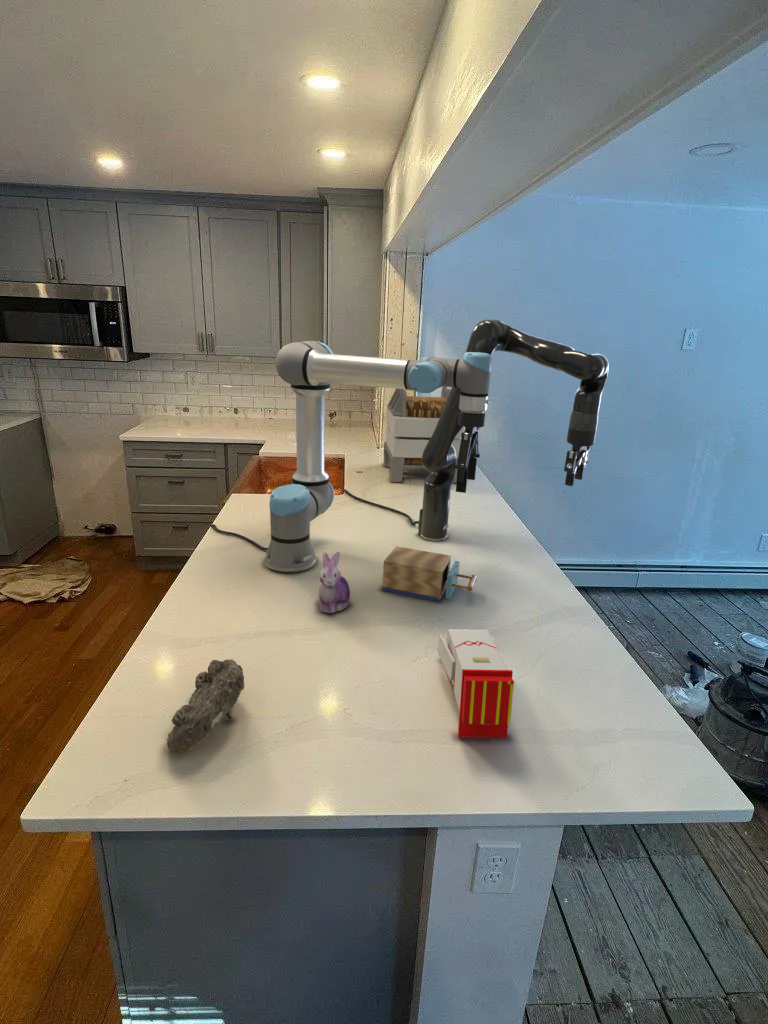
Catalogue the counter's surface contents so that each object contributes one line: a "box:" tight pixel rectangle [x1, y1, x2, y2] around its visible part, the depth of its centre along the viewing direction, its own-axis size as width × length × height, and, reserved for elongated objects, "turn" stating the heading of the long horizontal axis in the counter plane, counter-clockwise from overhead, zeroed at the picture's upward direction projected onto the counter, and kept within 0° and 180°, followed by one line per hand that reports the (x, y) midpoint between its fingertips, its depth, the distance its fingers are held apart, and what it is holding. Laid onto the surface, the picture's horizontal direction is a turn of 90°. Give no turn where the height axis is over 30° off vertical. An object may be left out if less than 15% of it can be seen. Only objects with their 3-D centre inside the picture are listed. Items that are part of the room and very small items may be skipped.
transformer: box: [383, 387, 465, 484], centre depth 268 cm, size 34×33×41 cm
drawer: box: [441, 560, 478, 600], centre depth 159 cm, size 21×10×7 cm, turn 71°
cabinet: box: [381, 545, 452, 602], centre depth 161 cm, size 16×11×9 cm
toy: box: [437, 628, 515, 738], centre depth 117 cm, size 12×13×30 cm
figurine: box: [318, 551, 351, 614], centre depth 147 cm, size 9×10×15 cm
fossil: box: [166, 658, 245, 754], centre depth 106 cm, size 22×10×15 cm
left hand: (465, 485), depth 162 cm, fingers open, 13 cm apart
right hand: (573, 482), depth 165 cm, fingers open, 8 cm apart
